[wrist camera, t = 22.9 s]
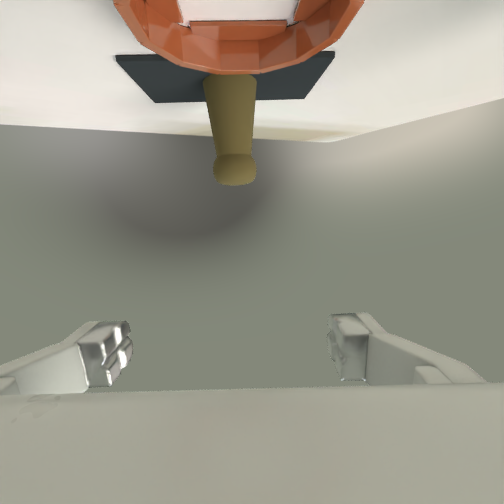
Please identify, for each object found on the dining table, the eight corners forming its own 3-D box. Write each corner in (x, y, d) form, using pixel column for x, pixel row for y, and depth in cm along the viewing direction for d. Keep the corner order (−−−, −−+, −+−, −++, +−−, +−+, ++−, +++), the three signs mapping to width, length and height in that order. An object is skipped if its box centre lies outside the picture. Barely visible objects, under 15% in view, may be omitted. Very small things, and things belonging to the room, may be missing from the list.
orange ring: (157, 43, 21) (160, 76, 22) (22, -205, 8) (41, -104, 8) (317, 41, 22) (316, 73, 22) (443, -193, 8) (434, -100, 9)
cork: (246, 66, 24) (251, 183, 27) (263, 88, 30) (266, 183, 33) (191, 78, 26) (201, 186, 29) (217, 96, 32) (223, 186, 34)
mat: (154, 98, 33) (154, 103, 33) (115, 55, 22) (116, 61, 23) (304, 94, 34) (304, 99, 34) (335, 51, 23) (334, 57, 23)
